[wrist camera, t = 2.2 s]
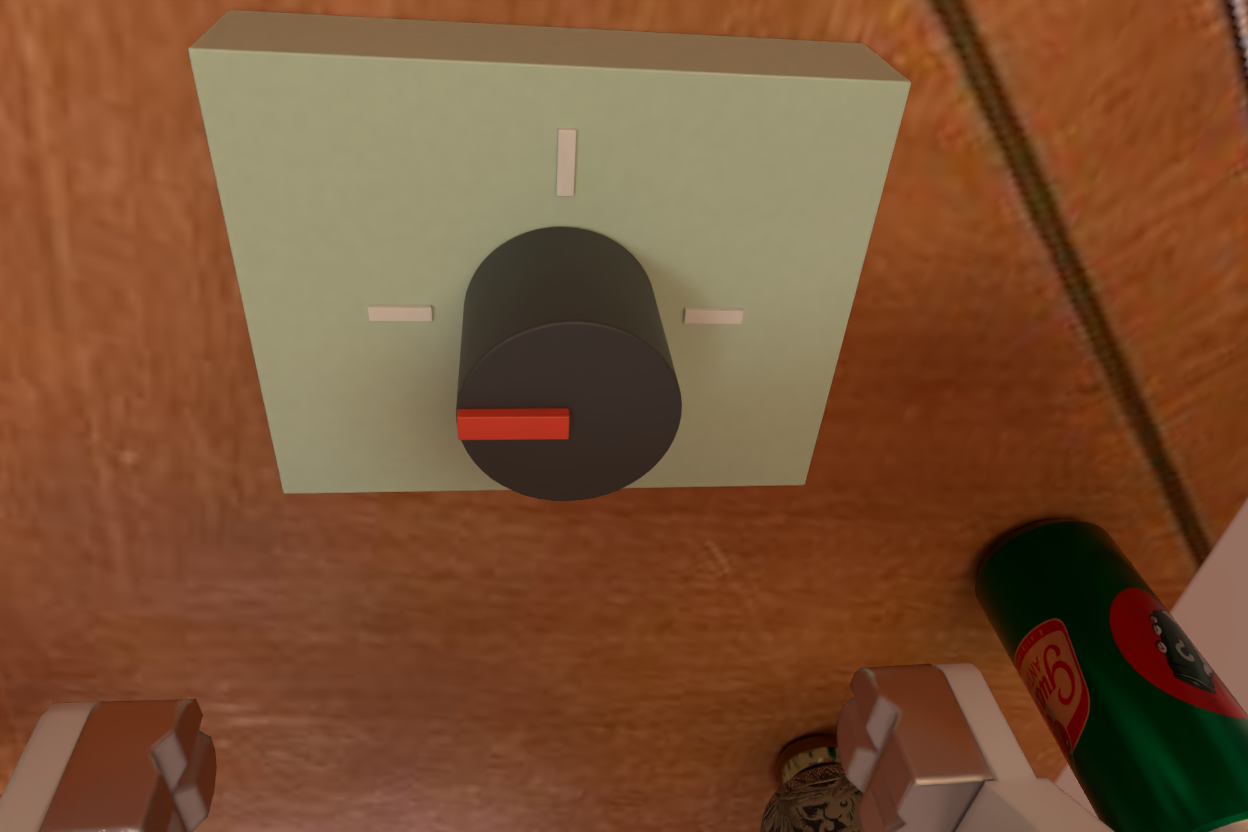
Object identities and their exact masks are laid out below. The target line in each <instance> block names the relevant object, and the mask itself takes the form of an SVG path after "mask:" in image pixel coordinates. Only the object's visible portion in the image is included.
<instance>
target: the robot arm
mask: <svg viewBox="0 0 1248 832" xmlns="http://www.w3.org/2000/svg"><path fill="white" fill-rule="evenodd" d="M850 686H851V689H852V692H853V695H854V697H853V698H852V699H850V700H849V701H848V702H846V703H845V704H843V705H842V707H841V710H840V713H839V717H838V720H837V746H838V751H839V756H840V760H841V764H842V767H843V770H844V773H845V776H846V778H847V779H848V780H849V781H850V782H851V783H852V784H854V785H855V786H856V787H857V788H858V789H859V790H860V791H861V792H862V793H863V794H862V797H861V800H860V803H859V806H858V809H857V812H858V815H859V818H860V821H861V824H862V827H863V830H864V832H1114V831H1113V830H1112V829H1110V828H1109V827H1108V826H1107V825H1106V824H1104V823H1103V822H1102V821H1101V820H1099V819H1098V818H1097V817H1096V816H1094V815H1093V814H1092V813H1090V812H1089V811H1088V810H1087V809H1086V808H1084V807H1083V806H1082V805H1080V804H1079V803H1078V802H1077V801H1076V800H1074V799H1073V798H1072V797H1071V796H1069V795H1068V794H1067V793H1065V792H1064V791H1063V790H1062V789H1061V788H1059V787H1058V786H1057V785H1056V784H1054V783H1053V782H1052V781H1051V780H1050V779H1048V778H1036V776H1035V774H1034V773H1033V771H1032V769H1031V767H1030V765H1029V763H1028V761H1027V759H1026V757H1025V755H1024V754H1023V752H1022V750H1021V748H1020V746H1019V744H1018V742H1017V740H1016V738H1015V736H1014V735H1013V733H1012V731H1011V729H1010V727H1009V725H1008V723H1007V721H1006V719H1005V718H1004V716H1003V714H1002V712H1001V710H1000V708H999V706H998V704H997V702H996V700H995V699H994V697H993V695H992V693H991V691H990V689H989V687H988V685H987V683H986V681H985V680H984V678H983V676H982V674H981V672H980V670H978V669H977V668H976V667H975V666H974V665H973V664H970V663H955V664H939V665H931V664H918V665H902V666H886V667H870V668H861V669H859V670H858V671H856V672H855V673H854V676H853V678H852V681H851V683H850ZM202 716H203V714H202V712H201V709H200V707H199V705H198V702H197V700H196V699H170V700H139V701H108V702H104V701H95V702H73V703H53V704H52V705H51V706H50V707H49V708H48V709H47V710H46V712H45V713H44V714H43V715H42V716H41V717H40V718H39V720H38V722H37V724H36V726H35V728H34V730H33V732H32V734H31V736H30V739H29V741H28V743H27V745H26V747H25V749H24V751H23V753H22V755H21V757H20V759H19V761H18V763H17V765H16V767H15V769H14V772H13V774H12V776H11V778H10V780H9V782H8V784H7V786H6V788H5V790H4V792H3V794H2V796H1V798H0V832H193V831H194V830H195V829H196V828H197V827H198V826H199V825H200V824H201V823H202V822H203V821H204V820H205V819H206V818H207V817H208V813H209V810H210V806H211V802H212V798H213V794H214V787H215V778H216V768H217V765H216V755H215V748H214V745H213V742H212V739H211V737H210V736H208V735H206V734H205V733H203V732H201V731H200V730H199V726H200V723H201V720H202Z"/></svg>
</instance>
